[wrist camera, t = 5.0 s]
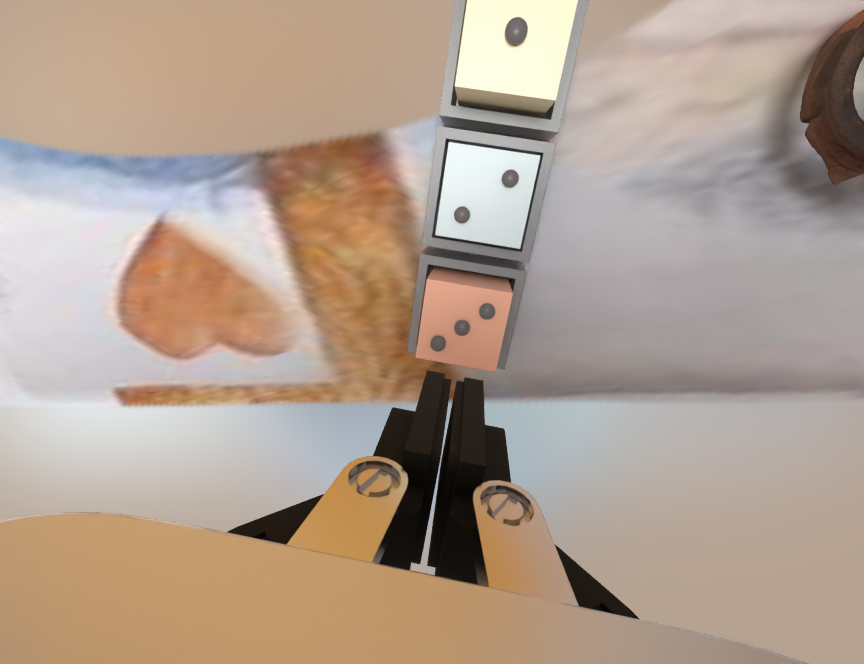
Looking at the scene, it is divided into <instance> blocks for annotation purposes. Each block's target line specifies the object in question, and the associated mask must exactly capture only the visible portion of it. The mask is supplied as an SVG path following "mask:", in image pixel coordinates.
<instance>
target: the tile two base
mask: <svg viewBox="0 0 864 664" xmlns="http://www.w3.org/2000/svg"><path fill="white" fill-rule="evenodd" d="M449 142H452V143H459V144H466V145H472V146H479V147H486V148H493V149H499V150H506V151H513V152H519V153H526V154H533V155H540V160H539V165H538V169H537V174H536V179H535V183H534V188H533V192H532V197H531V201H530V206H529V211H528V215H527V220H526V224H525V229H524V233H523V238H522V242H521V247H520V249H518V248H512V247H506V246H500V245H493V244H487V243H481V242H475V241H469V240H463V239H457V238H450V237H444V236H438V235H435V233H436V226H437V219H438V212H439V205H440V199H441V192H442V185H443V178H444V171H445V164H446V158H447V151H448V144H449ZM555 147H556V143H550V142H543V141H536V140H529V139H523V138H516V137H509V136H502V135H495V134H488V133H482V132H475V131H468V130H461V129H454V128H448V127H441V126H438V128H437V135H436V142H435V150H434V157H433V164H432V172H431V179H430V186H429V194H428V201H427V208H426V216H425V223H424V231H423V238H422V245H425V246H431V247H437V248H443V249H449V250H455V251H461V252H467V253H474V254H480V255H486V256H492V257H498V258H504V259H510V260H516V261H522V262H528V263H529V260H530V256H531V251H532V247H533V243H534V238H535V234H536V229H537V225H538V221H539V216H540V212H541V208H542V203H543V199H544V195H545V190H546V186H547V181H548V177H549V173H550V168H551V164H552V160H553V155H554V151H555Z"/></svg>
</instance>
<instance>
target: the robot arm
mask: <svg viewBox="0 0 864 664" xmlns="http://www.w3.org/2000/svg"><path fill="white" fill-rule="evenodd" d="M444 376H445V374H444V373H439V372H433V371H428V370H427V373H426V376H425V380H424V383H423V387H422V390H421V394H420V397H419V401H418V404H417V408H416V411H415V412H414V411H409V410H404V409H399V408H392V410H391V412H390V415H389V417H388V420H387V422H386V425H385V427H384V430H383V432H382V435H381V437H380V440H379V442H378V445H377V447H376V450H375V452H374V455H373V456H367V457H362V458H358V459H356V460H354V461H352V462H350V463H349V464H348V465H347V466H346V467H345V468H344V469H343V470H342V471H341V473H340V474H339V475H338V477H337V478H336V479H335V481H334V482H333V483H332V485H331V486H330V488H329V489H328V490H327V491H326V493H325V494H323V495H320V496H317V497H315V498H312V499H310V500H307V501H304V502H302V503H299V504H296V505H294V506H291V507H288V508H286V509H283V510H281V511H278V512H275V513H273V514H270V515H267V516H265V517H262V518H260V519H257V520H254V521H252V522H249V523H246V524H244V525H241V526H238V527H236V528H234V529H232V530H230V531H228V532H222V531H217V530H212V529H208V528H203V527H198V526H193V525H187V524H181V523H175V522H169V521H163V520H157V519H151V518H145V517H140V516H134V515H123V514H113V513H100V512H70V513H69V512H63V513H54V514H43V515H33V516H23V517H17V518H11V519H6V520H0V664H808V663H805V662H803V661H800V660H797V659H794V658H791V657H788V656H785V655H782V654H779V653H775V652H772V651H769V650H766V649H762V648H758V647H754V646H750V645H746V644H742V643H738V642H734V641H730V640H727V639H723V638H718V637H715V636H711V635H707V634H702V633H699V632H694V631H690V630H685V629H681V628H676V627H671V626H667V625H662V624H658V623H653V622H648V621H643V620H640V619H639V618H638V617H637V616H636V615H635V614H634V613H633V612H632V611H631V610H630V609H629V608H628V607H627V606H625V605H624V604H623V603H622V602H621V601H620V600H618V599H617V598H616V597H615V596H614V595H613V594H612V593H610V592H609V591H608V590H607V589H606V588H605V587H604V586H602V585H601V584H600V583H599V582H598V581H597V580H595V579H594V578H593V577H592V576H591V575H590V574H589V573H587V572H586V571H585V570H584V569H583V568H581V567H580V566H579V565H578V564H577V563H576V562H575V561H573V560H572V559H571V558H570V557H569V556H568V555H567V554H565V553H564V552H563V551H562V550H561V549H560V548H559V547H557V546H556V545H555V544H554V542H553V539H552V537H551V534H550V532H549V529H548V527H547V524H546V521H545V519H544V516H543V514H542V511H541V509H540V507H539V505H538V503H537V501H536V500H535V498H534V497H533V496H531V495H530V494H529V492H527V491H525V490H524V489H523V488H521V487H519V486H517V485H515V484H512V483H511V479H510V471H509V462H508V454H507V446H506V437H505V430H504V429H503V428H498V427H493V426H487V425H485V420H484V390H483V381H482V380H477V379H471V378H466V377H465V379H464V382H461V381H457V383H456V388H455V393H454V398H453V403H452V408H451V414H450V419H449V424H448V429H447V434H446V440H445V445H444V450H443V455H442V461H441V467H440V474H439V481H438V490H437V496H436V504H435V511H434V519H433V526H432V534H431V542H430V549H429V557H428V564H427V566H431V567H436V569H435V575H430V574H425V573H420V572H415V571H411V570H410V566H411V562H412V563H417V564H420V562H421V557H422V552H423V547H424V542H425V536H426V530H427V526H428V520H429V515H430V510H431V505H432V500H433V495H434V489H435V484H436V479H437V474H438V468H439V463H440V456H441V450H442V443H443V436H444V429H445V421H446V414H447V407H448V400H449V393H450V385H451V380H450V379H445V378H444Z"/></svg>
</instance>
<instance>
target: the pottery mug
mask: <svg viewBox="0 0 864 664" xmlns="http://www.w3.org/2000/svg"><path fill="white" fill-rule="evenodd" d="M863 57H864V10H862V11H861V12H860V13H858V14H857V15H856V16H855V17H853V18H852V19H851V20H850V21H848V22H847V23H846V24H845V25H844V26H842V27H841V28H840V29H839V30H838V31H837V32H836V33H835V34H833V35H832V37H831V38H830V39H829V40H828V41H827V42H826V43H825V44H824V45H823V46H822V48H821V50H820V52H819V54H818V56H817V58H816V60H815V62H814V64H813V67H812V69H811V71H810V74H809V77H808V79H807V82H806V85H805V88H804V93H803V96H802V105H801V112H800V119H801V121H802V122H803V123H810V124H809V126H808V128H807V129H806V132H805V136H806V138H807V140H808V141H809V143H810V145H811V146H812V147H813V148H814V149H815V150H816V151H817V153H818V154H819V155H820V156H821V157H822V159H823V161H824V163H825V164H826V167H827V169H828V175H829V178H830V180H831V182H832V184H834V185H836V184H838V183H840V182H842V181H845V180H848V179H850V178H853V177H856V176H858V175H861V174H863V173H864V121H863V120H862V119H861V118H860V117H859V116H858V113H857V110H856V108H855V104H854V98H853V89H854V81H855V76H856V73H857V70H858V67H859V64H860V63H861V61H862V59H863Z"/></svg>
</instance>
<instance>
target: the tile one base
mask: <svg viewBox="0 0 864 664" xmlns="http://www.w3.org/2000/svg"><path fill="white" fill-rule="evenodd" d="M588 2H589V0H578V2H577V7H576V11H575V16H574V20H573V25H572V29H571V34H570V38H569V43H568V47H567V52H566V57H565V61H564V66H563V70H562V75H561V79H560V84H559V88H558V93H557V97H556V101H555V102H554V103H553V105H552V106H551V107H550V108H549V110H548V111H547V112H546V113H545V118H544V119H542V118H535V117H529V116H522V115H515V114H508V113H501V112H494V111H487V110H480V109H473V108H466V107H459V106H456V101H457V94H456V90H455V81H456V74H457V67H458V60H459V53H460V46H461V39H462V32H463V25H464V18H465V12H466V5H467V0H455V3H454V10H453V18H452V25H451V33H450V40H449V47H448V55H447V62H446V69H445V76H444V83H443V91H442V99H441V106H440V113H439V116H440V118H441V120H442V122H443V124H444V125H447V126H453V127H460V128H467V129H474V130H481V131H488V132H494V133H501V134H508V135H515V136H522V137H528V138H535V139H542V140H550V139H551V138H552V137H554V136H555V135H556V134H557V133H559V129H560V125H561V120H562V116H563V112H564V107H565V103H566V99H567V94H568V90H569V85H570V81H571V77H572V72H573V68H574V64H575V59H576V55H577V50H578V46H579V42H580V37H581V33H582V28H583V24H584V20H585V16H586V11H587V6H588Z"/></svg>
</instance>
